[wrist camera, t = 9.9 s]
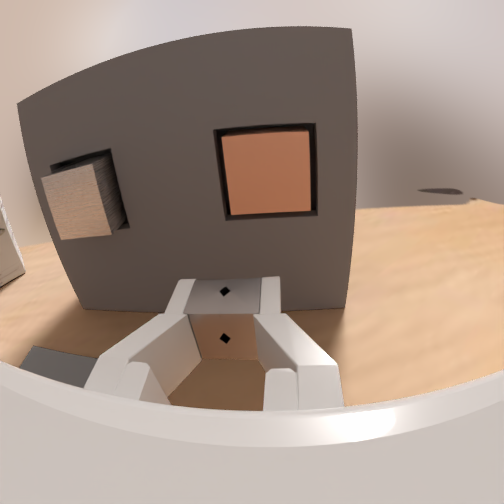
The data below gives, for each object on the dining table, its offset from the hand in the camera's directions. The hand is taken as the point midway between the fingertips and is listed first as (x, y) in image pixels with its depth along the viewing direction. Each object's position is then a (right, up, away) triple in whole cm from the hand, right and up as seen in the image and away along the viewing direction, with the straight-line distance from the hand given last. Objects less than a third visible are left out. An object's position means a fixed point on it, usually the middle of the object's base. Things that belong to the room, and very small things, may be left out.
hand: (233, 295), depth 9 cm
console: (-4, -2, +17) cm, 18 cm away
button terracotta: (+2, +5, +11) cm, 12 cm away
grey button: (-11, +3, +11) cm, 16 cm away
